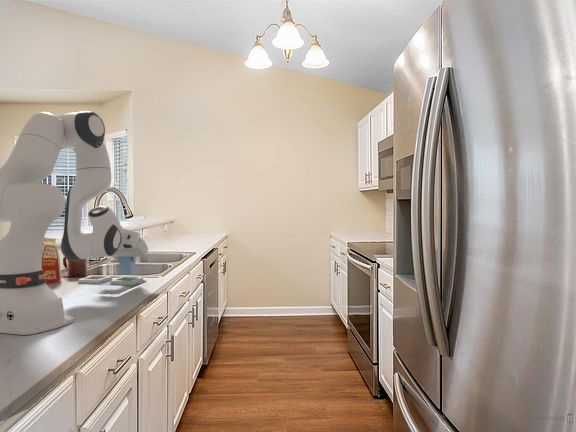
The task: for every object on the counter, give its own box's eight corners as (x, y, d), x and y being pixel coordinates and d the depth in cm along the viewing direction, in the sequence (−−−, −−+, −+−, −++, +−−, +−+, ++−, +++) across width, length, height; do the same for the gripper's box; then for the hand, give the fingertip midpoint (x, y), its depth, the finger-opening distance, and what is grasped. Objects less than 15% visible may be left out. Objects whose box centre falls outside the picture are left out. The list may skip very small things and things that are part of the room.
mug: (93, 276, 176) (92, 254, 176) (77, 280, 168) (76, 256, 168) (72, 275, 180) (72, 253, 180) (55, 278, 172) (55, 255, 171)
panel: (146, 282, 165) (146, 276, 164) (130, 288, 153) (130, 282, 153) (93, 280, 168) (93, 274, 168) (74, 286, 156) (74, 280, 156)
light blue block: (130, 274, 157) (129, 246, 157) (119, 274, 158) (118, 246, 157) (135, 272, 162) (134, 245, 161) (124, 272, 162) (124, 245, 162)
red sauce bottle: (41, 287, 154) (40, 236, 153) (28, 285, 159) (27, 235, 158) (64, 283, 162) (63, 235, 161) (51, 281, 167) (50, 234, 166)
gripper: (85, 245, 149) (100, 266, 159) (138, 245, 147) (149, 266, 157) (92, 232, 153) (106, 253, 163) (143, 232, 151) (154, 254, 162)
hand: (127, 260), depth 160 cm, fingers closed on light blue block, 4 cm apart
